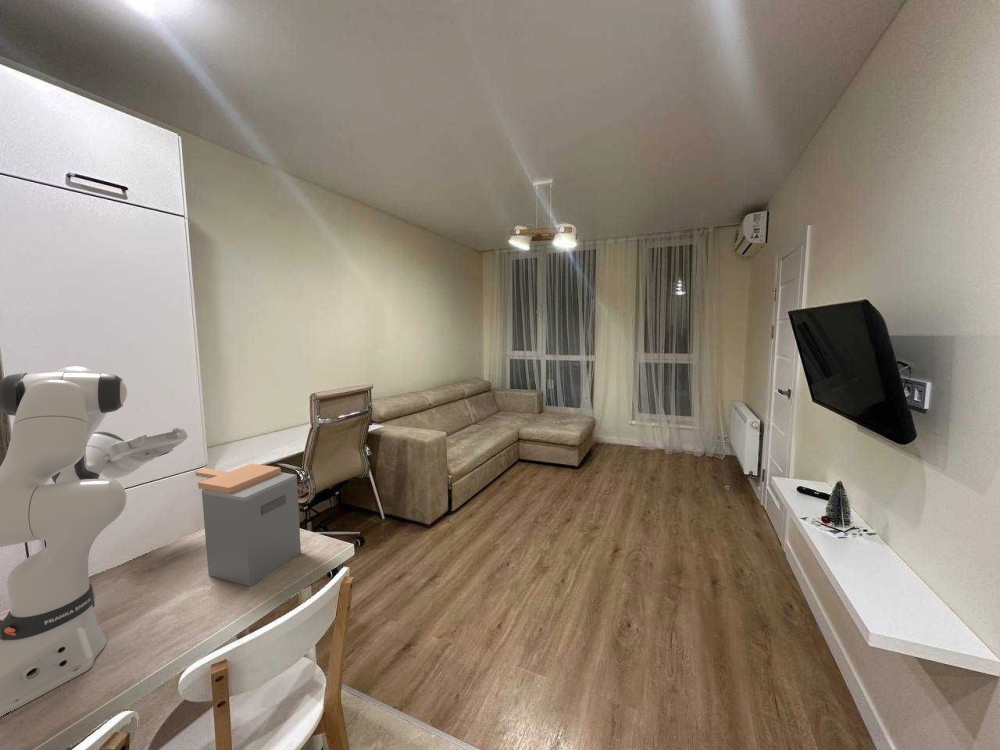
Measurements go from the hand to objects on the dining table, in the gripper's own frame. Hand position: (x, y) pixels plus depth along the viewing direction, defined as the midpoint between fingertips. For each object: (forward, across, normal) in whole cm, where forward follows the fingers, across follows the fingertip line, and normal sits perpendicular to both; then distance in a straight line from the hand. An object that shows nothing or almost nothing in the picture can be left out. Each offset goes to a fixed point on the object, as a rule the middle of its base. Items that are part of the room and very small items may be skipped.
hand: (162, 433), depth 123 cm
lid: (+15, +2, +23) cm, 28 cm away
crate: (+10, +2, +50) cm, 52 cm away
